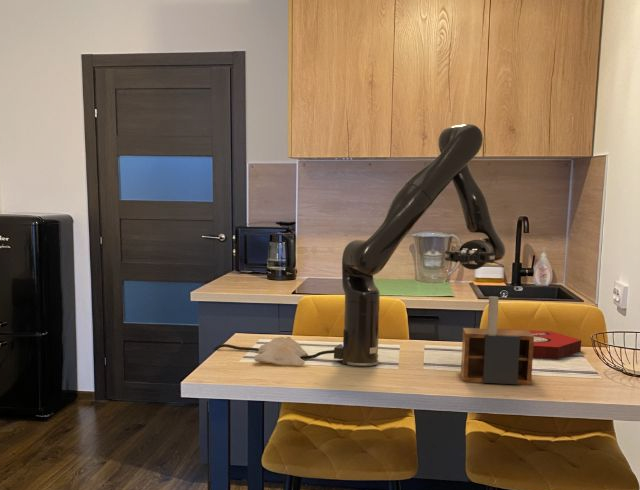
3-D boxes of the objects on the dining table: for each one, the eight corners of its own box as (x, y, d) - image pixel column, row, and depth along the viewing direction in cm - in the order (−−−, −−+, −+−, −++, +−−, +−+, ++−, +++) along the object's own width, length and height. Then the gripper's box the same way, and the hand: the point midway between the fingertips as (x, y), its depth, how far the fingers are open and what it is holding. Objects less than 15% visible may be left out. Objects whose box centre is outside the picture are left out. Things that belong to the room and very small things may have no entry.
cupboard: (463, 381, 181) (465, 333, 180) (460, 373, 189) (462, 327, 187) (531, 384, 179) (534, 336, 177) (525, 377, 187) (528, 330, 185)
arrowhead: (252, 348, 195) (266, 326, 225) (252, 367, 196) (266, 342, 225) (306, 351, 194) (313, 328, 223) (305, 370, 195) (312, 345, 224)
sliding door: (483, 383, 179) (487, 297, 176) (482, 381, 181) (486, 296, 178) (517, 385, 177) (522, 298, 174) (516, 382, 179) (521, 297, 176)
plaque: (461, 341, 232) (516, 361, 204) (462, 330, 232) (517, 349, 203) (535, 337, 240) (598, 357, 211) (536, 327, 239) (599, 345, 210)
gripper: (450, 239, 197) (436, 242, 181) (502, 240, 192) (491, 244, 176) (449, 267, 198) (435, 272, 182) (500, 269, 193) (490, 275, 177)
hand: (462, 258), depth 179 cm, fingers closed
